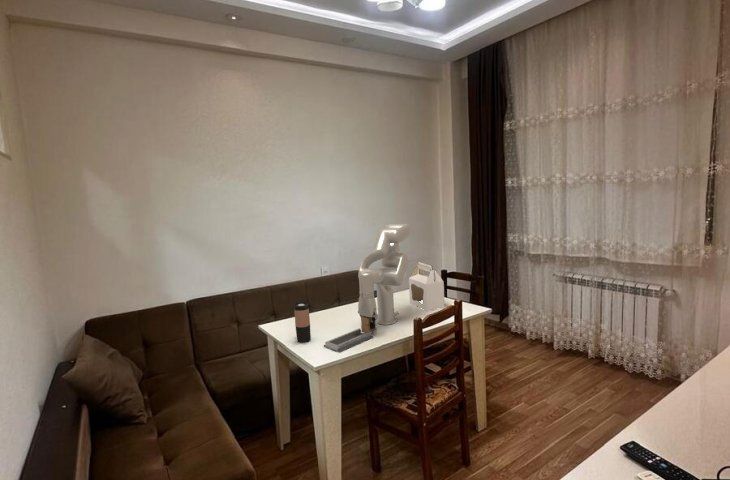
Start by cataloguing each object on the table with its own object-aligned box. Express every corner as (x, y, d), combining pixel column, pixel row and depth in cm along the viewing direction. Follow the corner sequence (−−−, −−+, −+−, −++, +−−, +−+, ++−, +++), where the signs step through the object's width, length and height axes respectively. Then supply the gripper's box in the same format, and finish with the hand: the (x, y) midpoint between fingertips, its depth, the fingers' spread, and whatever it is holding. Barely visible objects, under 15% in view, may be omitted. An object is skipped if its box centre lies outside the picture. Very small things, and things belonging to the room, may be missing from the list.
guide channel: (357, 332, 213) (357, 327, 212) (373, 337, 204) (373, 332, 204) (323, 346, 196) (323, 341, 195) (339, 352, 187) (339, 347, 187)
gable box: (409, 302, 263) (407, 262, 259) (426, 299, 268) (425, 259, 264) (426, 311, 242) (425, 267, 239) (444, 308, 247) (443, 264, 244)
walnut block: (369, 328, 214) (368, 314, 213) (376, 330, 211) (375, 315, 210) (361, 331, 210) (360, 317, 209) (368, 333, 206) (367, 318, 205)
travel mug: (297, 338, 209) (294, 302, 206) (311, 337, 209) (308, 301, 207) (296, 344, 201) (293, 306, 199) (310, 342, 202) (308, 305, 199)
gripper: (350, 294, 211) (352, 326, 213) (373, 298, 199) (375, 333, 201) (360, 291, 216) (362, 322, 219) (383, 295, 205) (385, 328, 207)
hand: (368, 327), depth 210 cm, fingers closed on walnut block, 5 cm apart
